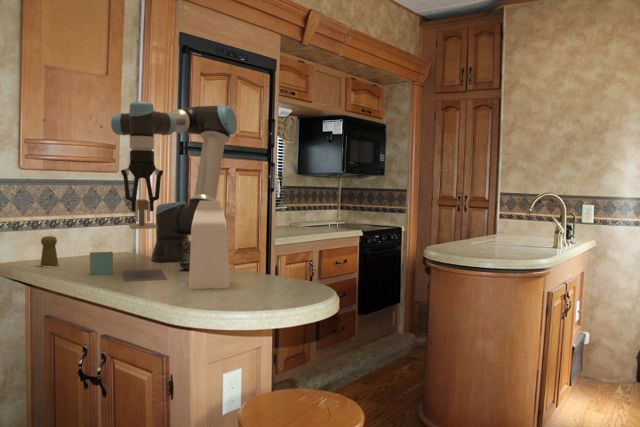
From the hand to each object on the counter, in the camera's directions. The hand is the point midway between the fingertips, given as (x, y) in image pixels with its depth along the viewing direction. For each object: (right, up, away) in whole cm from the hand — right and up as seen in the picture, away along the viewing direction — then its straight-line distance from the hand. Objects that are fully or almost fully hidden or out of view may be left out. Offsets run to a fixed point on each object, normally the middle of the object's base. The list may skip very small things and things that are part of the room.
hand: (142, 221), depth 180 cm
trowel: (0, -2, +1) cm, 2 cm away
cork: (-41, -17, +21) cm, 50 cm away
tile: (-14, -18, +2) cm, 23 cm away
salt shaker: (+12, -18, +12) cm, 25 cm away
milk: (+24, -20, -12) cm, 33 cm away
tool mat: (0, -18, +1) cm, 18 cm away
